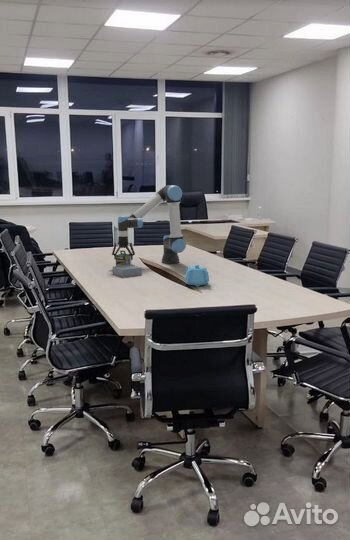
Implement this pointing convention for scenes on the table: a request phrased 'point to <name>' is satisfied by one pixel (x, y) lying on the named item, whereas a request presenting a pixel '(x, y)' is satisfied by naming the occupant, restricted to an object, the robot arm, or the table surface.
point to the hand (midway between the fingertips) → (123, 263)
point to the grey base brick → (127, 270)
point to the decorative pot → (196, 276)
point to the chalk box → (122, 258)
